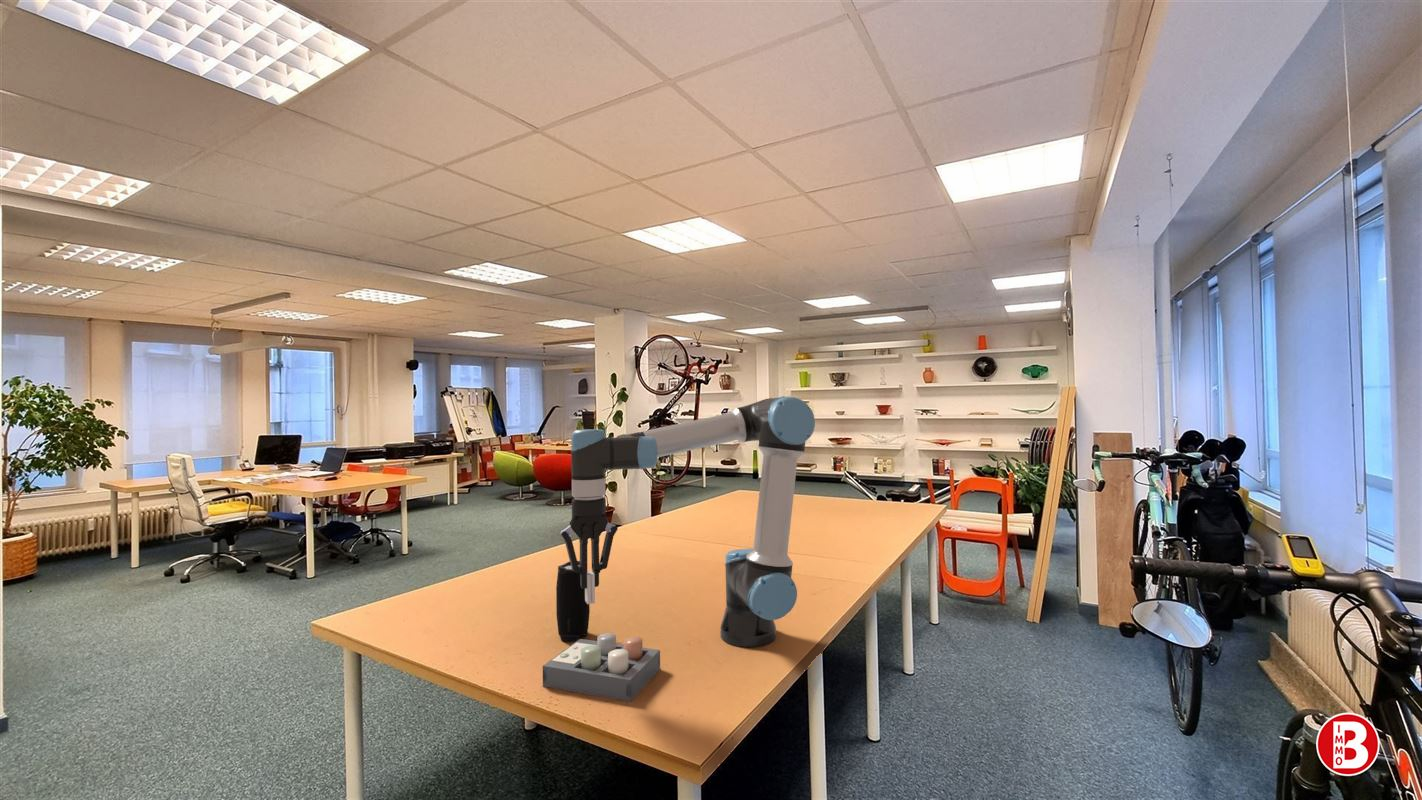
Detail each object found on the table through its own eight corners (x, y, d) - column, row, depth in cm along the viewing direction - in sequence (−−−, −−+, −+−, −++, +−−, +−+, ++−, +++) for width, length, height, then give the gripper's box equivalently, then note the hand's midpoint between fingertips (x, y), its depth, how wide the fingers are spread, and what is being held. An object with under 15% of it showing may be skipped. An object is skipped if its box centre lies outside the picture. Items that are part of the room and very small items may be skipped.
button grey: (619, 653, 128) (619, 634, 128) (610, 661, 124) (610, 641, 124) (603, 651, 129) (603, 632, 129) (593, 659, 125) (593, 639, 125)
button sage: (604, 666, 121) (604, 646, 121) (594, 675, 117) (593, 654, 117) (587, 664, 122) (587, 644, 123) (577, 672, 118) (576, 652, 118)
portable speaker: (569, 628, 152) (568, 559, 153) (596, 632, 148) (596, 562, 149) (549, 639, 144) (548, 567, 145) (577, 645, 140) (576, 570, 141)
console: (660, 669, 126) (659, 648, 126) (630, 701, 112) (630, 678, 112) (580, 656, 133) (580, 637, 133) (542, 686, 119) (542, 664, 119)
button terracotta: (645, 657, 125) (645, 637, 125) (637, 665, 121) (637, 645, 121) (629, 654, 127) (629, 635, 127) (620, 663, 123) (620, 643, 123)
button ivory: (632, 670, 119) (631, 650, 119) (622, 680, 115) (622, 659, 115) (614, 668, 120) (614, 648, 120) (604, 677, 116) (604, 656, 116)
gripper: (612, 492, 127) (614, 592, 126) (556, 497, 121) (557, 601, 121) (621, 496, 120) (622, 602, 120) (562, 502, 115) (563, 612, 114)
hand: (589, 601), depth 120 cm, fingers closed
